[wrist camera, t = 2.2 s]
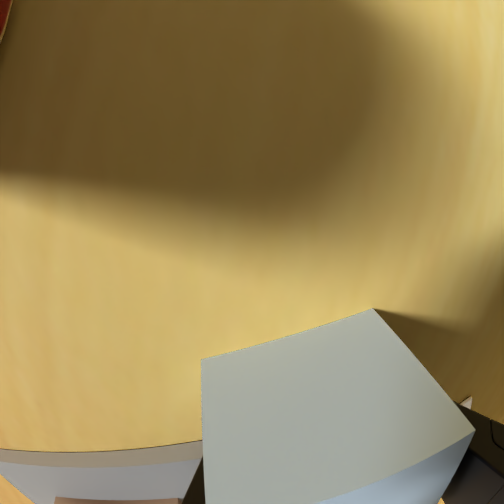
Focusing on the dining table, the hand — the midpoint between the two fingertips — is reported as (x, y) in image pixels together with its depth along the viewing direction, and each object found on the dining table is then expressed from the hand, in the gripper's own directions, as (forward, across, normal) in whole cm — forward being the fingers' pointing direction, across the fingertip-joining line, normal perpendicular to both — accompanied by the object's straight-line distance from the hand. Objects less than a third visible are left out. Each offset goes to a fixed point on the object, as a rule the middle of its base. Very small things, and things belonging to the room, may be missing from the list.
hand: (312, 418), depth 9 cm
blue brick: (+1, 0, 0) cm, 1 cm away
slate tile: (+1, +9, +7) cm, 11 cm away
